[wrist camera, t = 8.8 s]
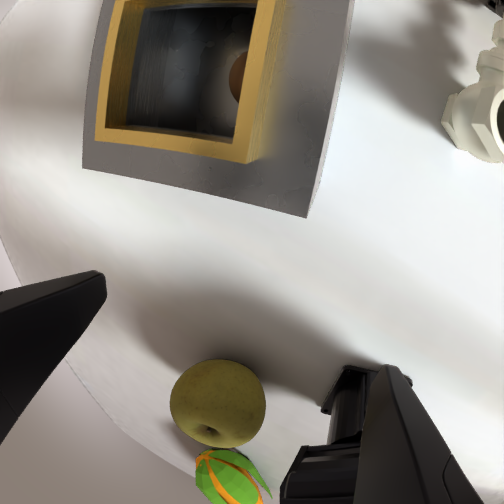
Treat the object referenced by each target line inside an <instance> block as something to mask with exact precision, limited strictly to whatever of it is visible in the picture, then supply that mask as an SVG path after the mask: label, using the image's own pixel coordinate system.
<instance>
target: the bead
mask: <svg viewBox="0 0 504 504" xmlns="http://www.w3.org/2000/svg"><path fill="white" fill-rule="evenodd" d="M247 56H248V51H246V52H244V53H243V54H241V55H240V56H239V57H238V58H237V59H236V60H235V62H234V63H233V65H232V67H231V70H230V73H229V87H230V91H231V93H232V95H233V97H234V99H235V100H236V101H237V102H238V103H239V101H240V95H241V89H242V83H243V78H244V72H245V67H246V61H247Z"/></svg>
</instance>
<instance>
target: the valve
mask: <svg viewBox="0 0 504 504" xmlns="http://www.w3.org/2000/svg"><path fill="white" fill-rule="evenodd" d="M488 8H489V9H490V10H491V11H493V12H494V13H496V14H497V15H498V16H500V17H501V18H503V20H499V21H497V22H496V23H495V24H494V30H493V36H492V41H493V42H494V43H495V44H496V46H497V47H494V48H492V49H491V50H490V51H489V50H484V51H481V52H480V53H479V57H478V61H477V65H476V70H477V72H478V73H479V74H480V78H479V82H478V83H475V84H472V85H469V86H468V87H466V88H465V89H463V90H462V91H461V92H460V93H456V94H451V95H449V97H448V100H447V103H446V107H445V110H444V113H443V116H442V119H441V124H442V126H443V127H444V128H445V130H446V131H447V133H448V134H449V136H450V138H451V139H452V141H453V142H454V144H455V145H456V147H457V148H458V149H460V150H464V151H468V152H469V153H470V154H471V155H473V156H474V157H476V158H478V159H480V160H482V161H485V162H489V163H501V162H502V163H504V0H488Z"/></svg>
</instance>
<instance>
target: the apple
mask: <svg viewBox="0 0 504 504" xmlns="http://www.w3.org/2000/svg"><path fill="white" fill-rule="evenodd" d="M265 410H266V400H265V394H264V391H263V388H262V385H261V383H260V381H259V379H258V377H257V376H256V375H255V374H254V373H253V372H252V371H251V370H250V369H249V368H247V367H245V366H244V365H242V364H239V363H237V362H234V361H230V360H223V359H213V360H206V361H202V362H200V363H198V364H196V365H194V366H192V367H191V368H189V369H188V370H187V371H185V372H184V373H183V374H182V375H181V376H180V378H179V379H178V380H177V382H176V383H175V385H174V387H173V389H172V392H171V397H170V411H171V415H172V417H173V419H174V421H175V423H176V425H177V426H178V427H179V428H180V429H181V430H182V431H183V432H184V433H185V434H187V435H188V436H190V437H191V438H193V439H195V440H196V441H198V442H201V443H203V444H206V445H209V446H213V447H219V448H232V447H237V446H240V445H243V444H245V443H247V442H248V441H250V440H251V439H252V438H253V437H254V436H255V435H256V434H257V432H258V431H259V430H260V428H261V426H262V423H263V420H264V417H265Z"/></svg>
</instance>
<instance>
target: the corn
mask: <svg viewBox="0 0 504 504" xmlns="http://www.w3.org/2000/svg"><path fill="white" fill-rule="evenodd" d="M199 455H200V456H199V457H198V458H196V486H197V487H198V488H199V489H200V490H201V491H202V492H203V494H204V495H205V496H206V497H207V498H208V499H209V500H210V501H211V502H212V503H213V504H263V501H262V497H261V494H260V491H259V489H258V486H257V485H256V483H255V482H254V481H253V479H252V478H251V476H250V475H249V474H248V472H247V471H246V470H248V471H249V472H250V473H251V475H252V476H253V477H254V478H255V479H256V480H257V481H258V482H259V483H260V484H261V485H262V486H263V487H264V489H265V490H266V491H267V492H268V493H269V494H270V496H271V498H272V495H271V493H270V490H269V488H268V487H267V485H266V484H265V482H264V481H263V479H262V478H261V476H260V475H259V473H258V471H257V470H256V468H255V467H254V465H253V464H252V463H251V461H249V460H248V459H246V458H245V457H244V456H243V455H241V454H239V453H235V452H232V451H229V450H219V449H213V448H212V449H209V450H206V451H204V452H202V453H200V454H199Z"/></svg>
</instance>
